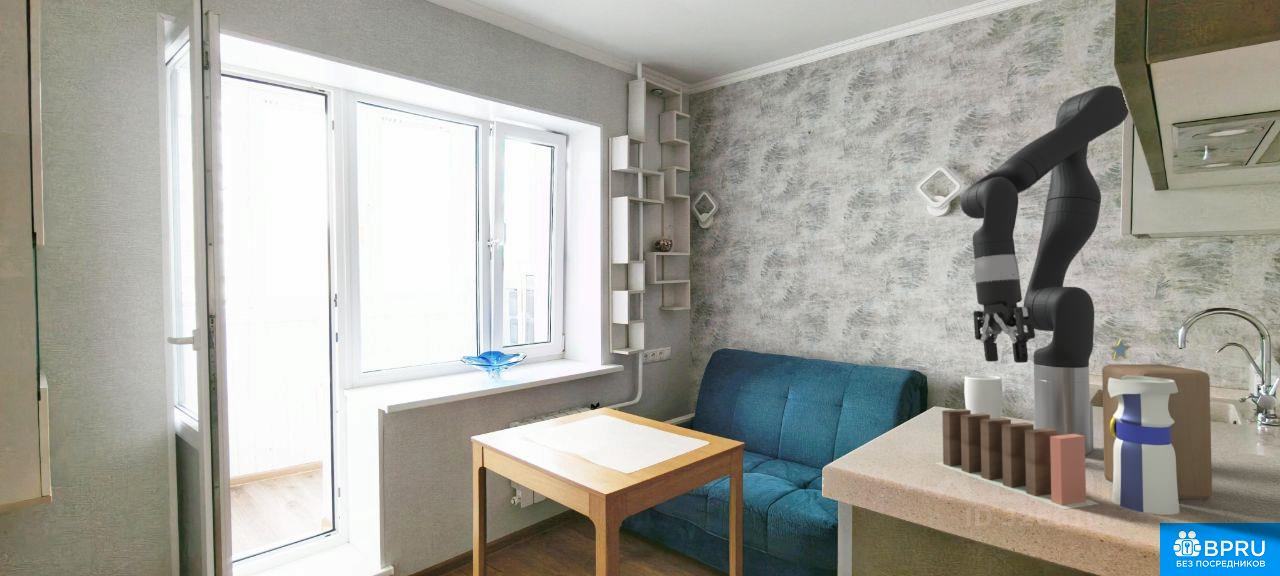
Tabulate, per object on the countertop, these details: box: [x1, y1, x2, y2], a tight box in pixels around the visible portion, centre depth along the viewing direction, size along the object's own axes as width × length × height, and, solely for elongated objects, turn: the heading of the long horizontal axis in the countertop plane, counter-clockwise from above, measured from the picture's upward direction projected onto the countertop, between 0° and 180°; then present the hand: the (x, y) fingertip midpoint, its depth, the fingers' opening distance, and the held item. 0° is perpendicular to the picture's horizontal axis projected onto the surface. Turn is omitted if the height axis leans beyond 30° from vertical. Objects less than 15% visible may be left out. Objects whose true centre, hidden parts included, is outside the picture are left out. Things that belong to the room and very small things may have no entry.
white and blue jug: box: [1108, 338, 1180, 516], centre depth 88 cm, size 8×9×25 cm
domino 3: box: [980, 417, 1012, 480], centre depth 102 cm, size 5×2×10 cm, turn 107°
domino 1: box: [941, 408, 971, 467], centre depth 110 cm, size 5×2×10 cm, turn 107°
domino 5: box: [1025, 428, 1058, 496], centre depth 94 cm, size 5×2×10 cm, turn 107°
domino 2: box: [961, 413, 990, 473], centre depth 106 cm, size 5×2×10 cm, turn 107°
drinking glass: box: [963, 374, 1003, 419], centre depth 121 cm, size 7×7×15 cm
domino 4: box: [1002, 422, 1035, 488], centre depth 98 cm, size 5×2×10 cm, turn 107°
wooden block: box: [1101, 363, 1213, 501], centre depth 96 cm, size 10×10×20 cm
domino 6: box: [1050, 434, 1087, 505], centre depth 90 cm, size 5×2×10 cm, turn 107°
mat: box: [934, 461, 1099, 510], centre depth 100 cm, size 7×25×1 cm, turn 17°
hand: (1006, 361), depth 115 cm, fingers open, 8 cm apart
